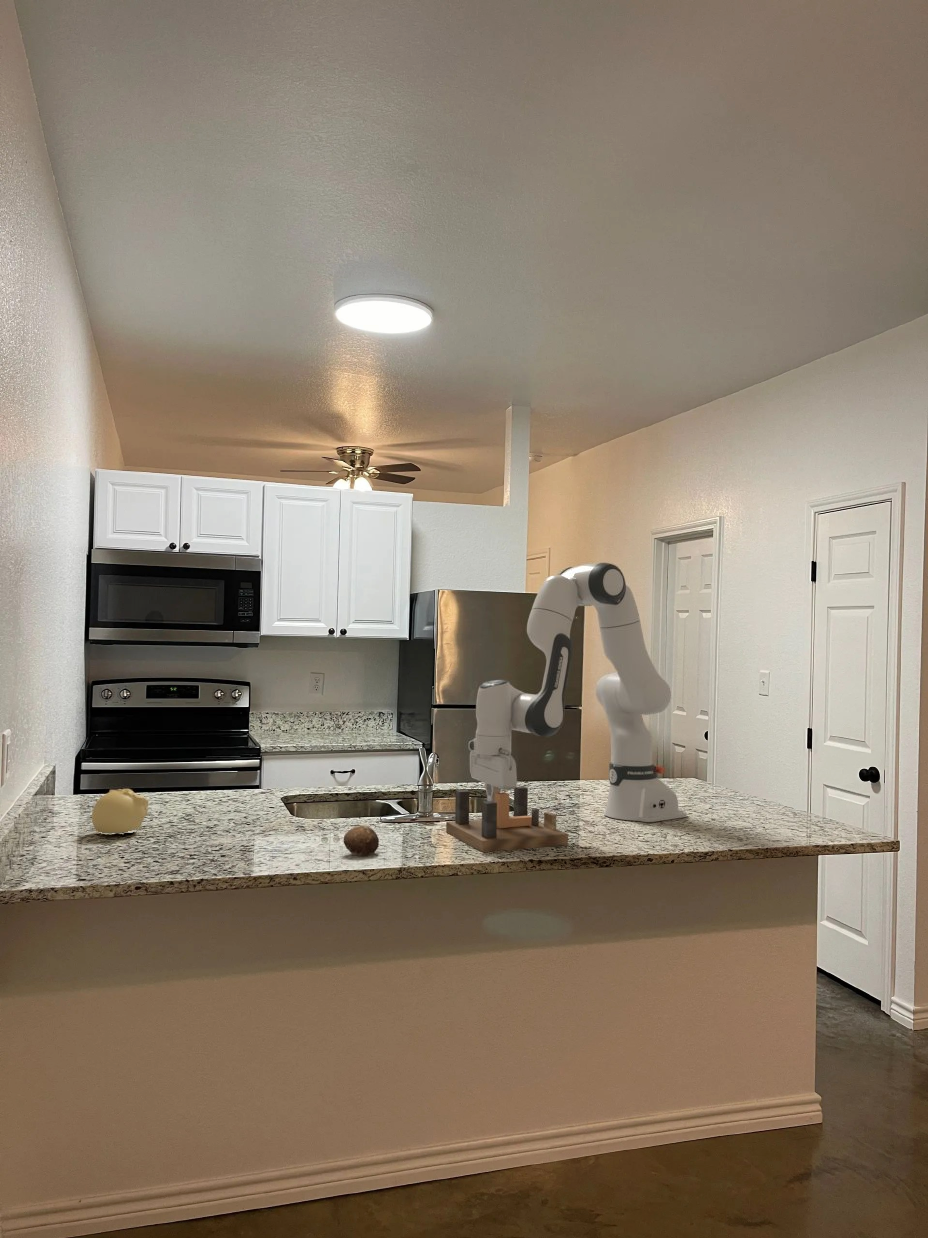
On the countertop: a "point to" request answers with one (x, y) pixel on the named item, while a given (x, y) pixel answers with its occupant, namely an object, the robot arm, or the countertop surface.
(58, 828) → the countertop surface
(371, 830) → the brown rounded lump
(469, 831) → the wooden peg board
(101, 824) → the sculpture
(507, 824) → the l-shaped wooden block
